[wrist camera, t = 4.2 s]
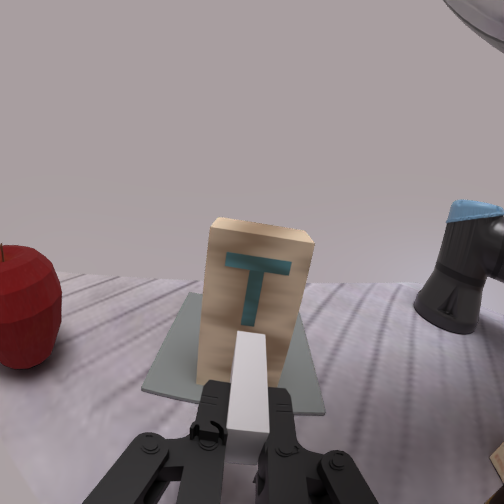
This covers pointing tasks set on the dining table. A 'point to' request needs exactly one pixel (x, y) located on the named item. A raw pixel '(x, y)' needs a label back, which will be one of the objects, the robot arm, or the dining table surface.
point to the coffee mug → (497, 497)
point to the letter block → (250, 293)
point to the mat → (186, 357)
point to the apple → (27, 307)
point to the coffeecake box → (499, 460)
